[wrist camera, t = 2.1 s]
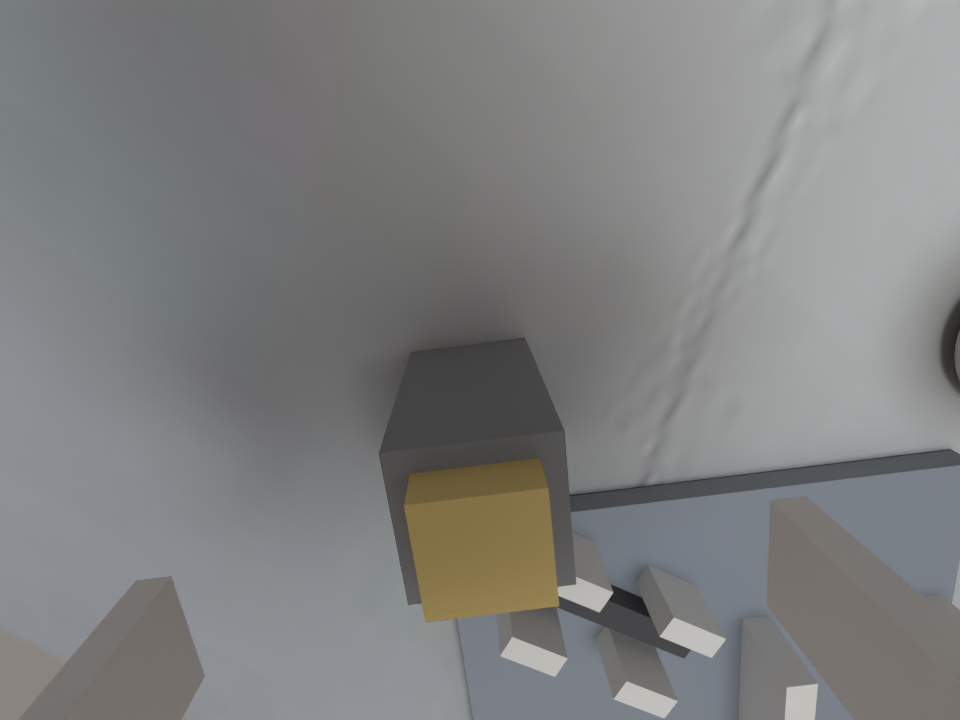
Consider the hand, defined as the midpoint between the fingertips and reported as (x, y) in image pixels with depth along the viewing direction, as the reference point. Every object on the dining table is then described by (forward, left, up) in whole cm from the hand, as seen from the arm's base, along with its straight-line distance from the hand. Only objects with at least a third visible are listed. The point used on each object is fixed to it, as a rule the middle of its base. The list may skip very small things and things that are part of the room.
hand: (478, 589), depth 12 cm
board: (+13, +9, -11) cm, 19 cm away
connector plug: (0, 0, -11) cm, 11 cm away
